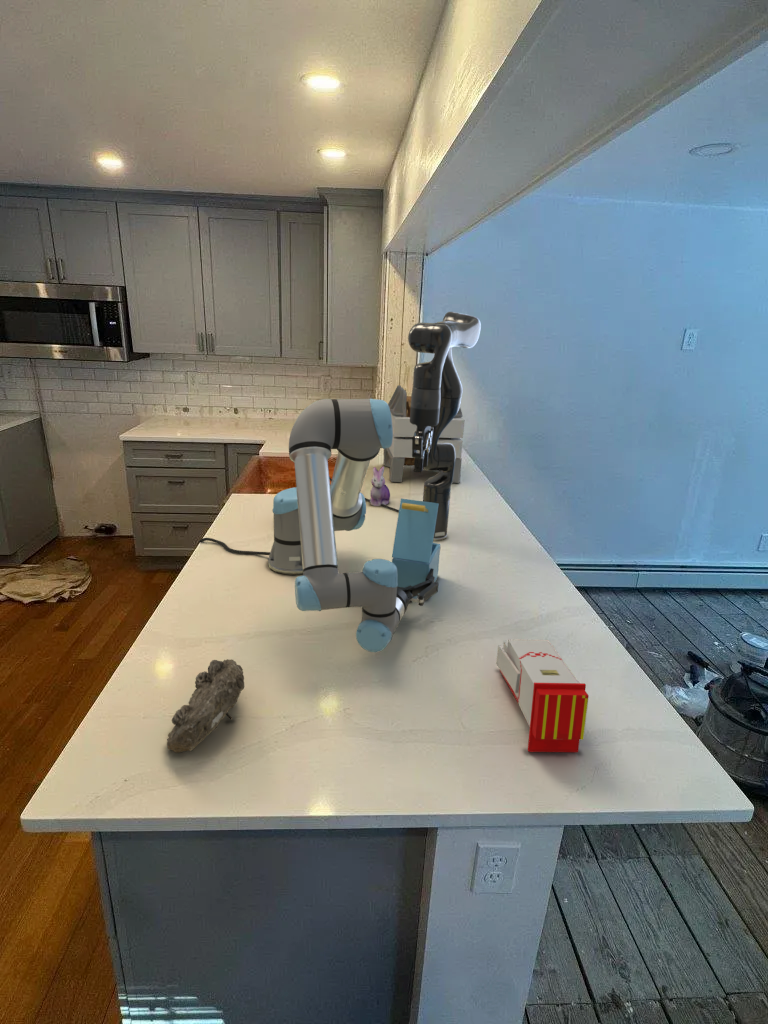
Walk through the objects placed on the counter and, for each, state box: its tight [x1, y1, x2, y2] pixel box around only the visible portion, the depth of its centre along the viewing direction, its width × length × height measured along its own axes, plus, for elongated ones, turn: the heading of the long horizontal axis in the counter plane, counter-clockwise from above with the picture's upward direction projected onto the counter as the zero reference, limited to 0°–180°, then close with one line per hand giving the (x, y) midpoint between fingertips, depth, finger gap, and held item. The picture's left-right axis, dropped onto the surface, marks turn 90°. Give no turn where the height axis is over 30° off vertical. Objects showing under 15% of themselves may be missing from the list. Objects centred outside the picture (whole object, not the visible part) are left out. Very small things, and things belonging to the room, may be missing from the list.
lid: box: [391, 498, 439, 563], centre depth 150 cm, size 16×10×8 cm
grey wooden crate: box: [383, 384, 465, 484], centre depth 268 cm, size 34×33×41 cm
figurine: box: [369, 465, 391, 507], centre depth 228 cm, size 9×10×15 cm
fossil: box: [166, 658, 245, 754], centre depth 106 cm, size 22×10×15 cm
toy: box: [495, 638, 589, 753], centre depth 114 cm, size 12×13×30 cm
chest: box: [391, 542, 441, 587], centre depth 162 cm, size 16×10×11 cm
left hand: (412, 569), depth 157 cm, fingers closed on chest, 10 cm apart
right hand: (420, 468), depth 151 cm, fingers open, 5 cm apart
